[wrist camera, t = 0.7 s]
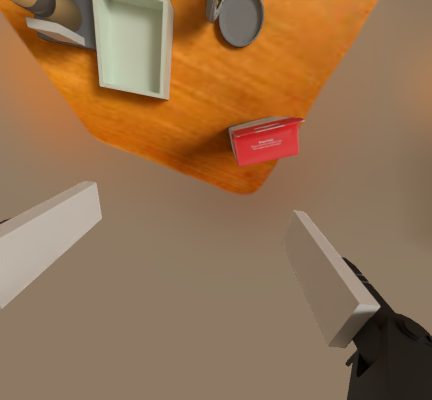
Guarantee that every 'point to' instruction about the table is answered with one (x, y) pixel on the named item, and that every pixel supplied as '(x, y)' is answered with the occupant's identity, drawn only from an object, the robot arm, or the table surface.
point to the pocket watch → (237, 19)
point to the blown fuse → (55, 11)
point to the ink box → (265, 139)
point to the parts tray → (134, 45)
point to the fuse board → (65, 36)
